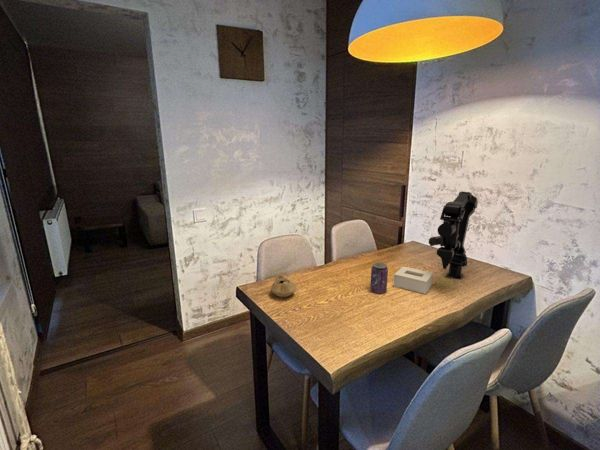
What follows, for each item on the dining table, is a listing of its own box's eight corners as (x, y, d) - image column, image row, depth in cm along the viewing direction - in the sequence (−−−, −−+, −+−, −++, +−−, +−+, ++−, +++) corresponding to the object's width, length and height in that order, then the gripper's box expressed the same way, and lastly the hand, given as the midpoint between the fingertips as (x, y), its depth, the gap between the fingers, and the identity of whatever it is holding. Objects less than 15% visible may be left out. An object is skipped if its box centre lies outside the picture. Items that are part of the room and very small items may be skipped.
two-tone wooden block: (438, 284, 149) (439, 274, 148) (452, 288, 146) (453, 277, 144) (436, 286, 147) (437, 276, 146) (450, 289, 144) (452, 279, 142)
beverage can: (367, 288, 145) (368, 263, 142) (380, 286, 147) (382, 261, 144) (375, 295, 138) (377, 269, 136) (389, 292, 141) (391, 267, 138)
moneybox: (402, 277, 156) (403, 266, 155) (432, 285, 148) (433, 272, 147) (393, 286, 147) (394, 274, 145) (425, 294, 139) (426, 281, 137)
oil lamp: (286, 284, 149) (286, 268, 147) (301, 297, 136) (301, 280, 134) (264, 289, 144) (263, 272, 143) (277, 303, 132) (277, 285, 130)
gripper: (436, 225, 152) (433, 256, 156) (425, 234, 137) (422, 268, 141) (462, 228, 146) (458, 261, 149) (454, 238, 131) (449, 274, 135)
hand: (446, 265), depth 144 cm, fingers open, 9 cm apart
